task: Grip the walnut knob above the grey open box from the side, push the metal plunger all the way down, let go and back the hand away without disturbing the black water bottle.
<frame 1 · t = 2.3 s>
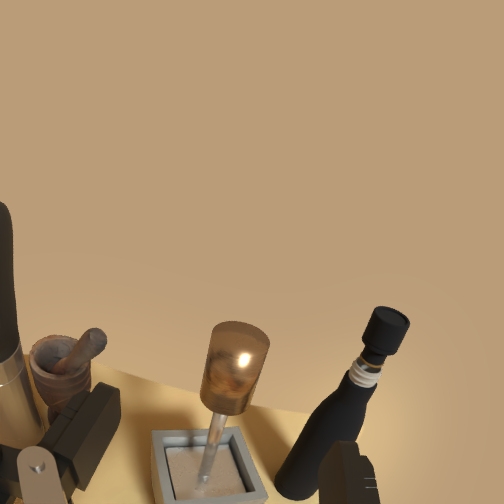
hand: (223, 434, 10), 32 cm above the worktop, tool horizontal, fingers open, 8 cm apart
black water bottle: (295, 484, 37), on the worktop
mortar and pestle: (80, 421, 38), on the worktop
plunger: (217, 424, 25), point 19 cm above the worktop, slide at 0.0 cm
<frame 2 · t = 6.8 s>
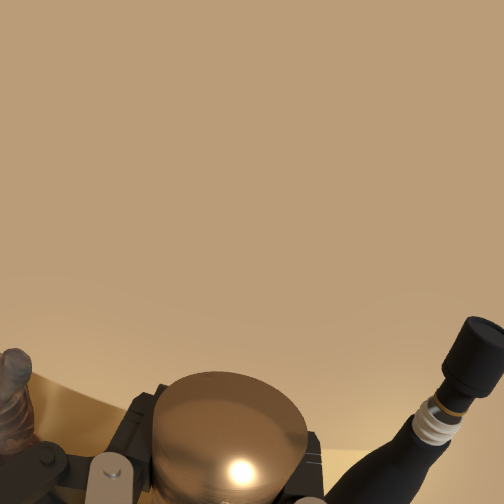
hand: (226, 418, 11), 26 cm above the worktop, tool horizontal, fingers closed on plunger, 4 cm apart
mortar and pestle: (30, 460, 24), on the worktop
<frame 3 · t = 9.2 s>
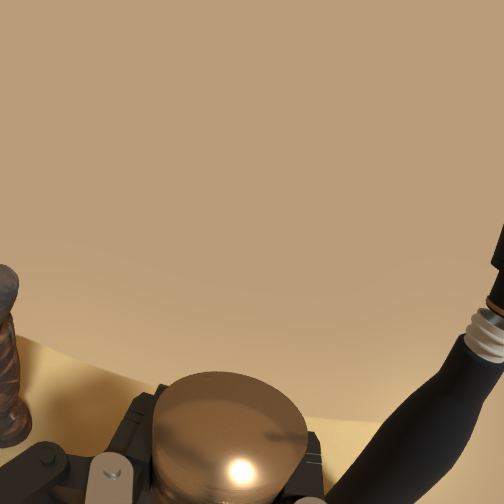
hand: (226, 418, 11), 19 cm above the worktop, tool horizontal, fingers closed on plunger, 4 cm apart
mortar and pestle: (15, 428, 22), on the worktop
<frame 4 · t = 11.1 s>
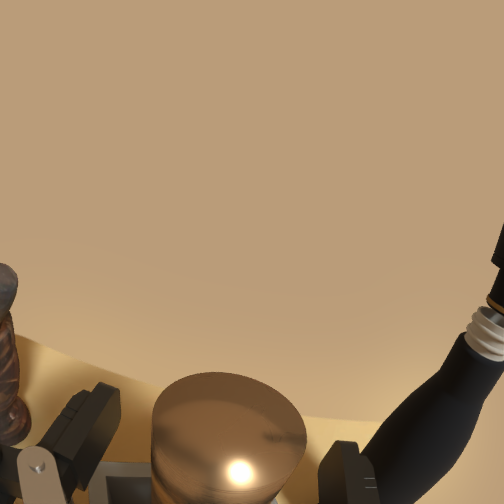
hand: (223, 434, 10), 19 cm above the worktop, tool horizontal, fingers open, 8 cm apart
mortar and pestle: (14, 428, 22), on the worktop
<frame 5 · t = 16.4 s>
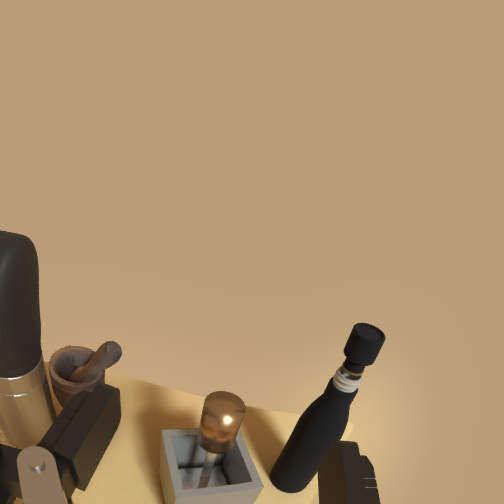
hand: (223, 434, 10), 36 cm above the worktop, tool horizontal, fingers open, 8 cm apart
black water bottle: (288, 478, 42), on the worktop
grey open box: (199, 497, 36), on the worktop
mortar and pestle: (93, 423, 43), on the worktop
plunger: (210, 456, 31), point 13 cm above the worktop, slide at 6.7 cm
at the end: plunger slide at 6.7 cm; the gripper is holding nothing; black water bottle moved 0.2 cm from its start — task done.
